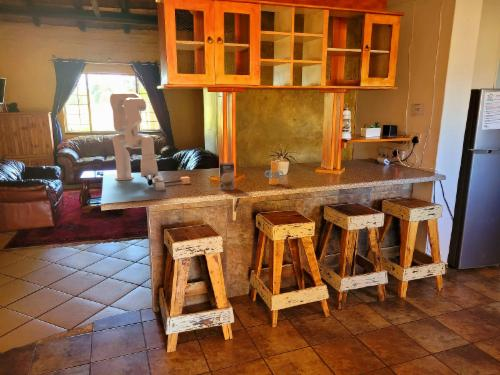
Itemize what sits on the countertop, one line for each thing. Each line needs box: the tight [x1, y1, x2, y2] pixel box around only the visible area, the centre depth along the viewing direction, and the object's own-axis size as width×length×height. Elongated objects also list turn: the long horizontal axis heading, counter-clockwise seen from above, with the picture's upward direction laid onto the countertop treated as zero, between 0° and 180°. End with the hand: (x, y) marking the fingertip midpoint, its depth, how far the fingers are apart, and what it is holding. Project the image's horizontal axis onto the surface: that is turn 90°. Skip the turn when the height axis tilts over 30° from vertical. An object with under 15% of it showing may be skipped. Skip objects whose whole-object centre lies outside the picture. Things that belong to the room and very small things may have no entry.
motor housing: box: [152, 173, 166, 191], centre depth 235 cm, size 20×5×6 cm, turn 19°
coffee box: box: [219, 162, 235, 191], centre depth 227 cm, size 9×6×16 cm
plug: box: [151, 176, 191, 189], centre depth 240 cm, size 4×24×4 cm, turn 121°
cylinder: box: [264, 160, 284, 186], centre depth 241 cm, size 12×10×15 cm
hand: (150, 185), depth 233 cm, fingers closed
